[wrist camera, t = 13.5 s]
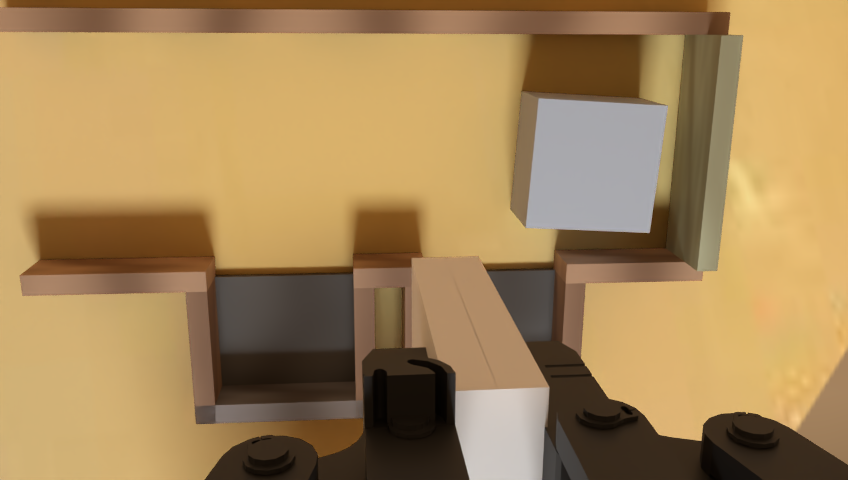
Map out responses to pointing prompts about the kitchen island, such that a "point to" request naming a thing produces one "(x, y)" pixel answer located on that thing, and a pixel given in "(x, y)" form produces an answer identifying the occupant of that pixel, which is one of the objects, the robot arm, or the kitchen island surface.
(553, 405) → the robot arm
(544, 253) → the kitchen island surface
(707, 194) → the trap lane
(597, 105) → the gray block
